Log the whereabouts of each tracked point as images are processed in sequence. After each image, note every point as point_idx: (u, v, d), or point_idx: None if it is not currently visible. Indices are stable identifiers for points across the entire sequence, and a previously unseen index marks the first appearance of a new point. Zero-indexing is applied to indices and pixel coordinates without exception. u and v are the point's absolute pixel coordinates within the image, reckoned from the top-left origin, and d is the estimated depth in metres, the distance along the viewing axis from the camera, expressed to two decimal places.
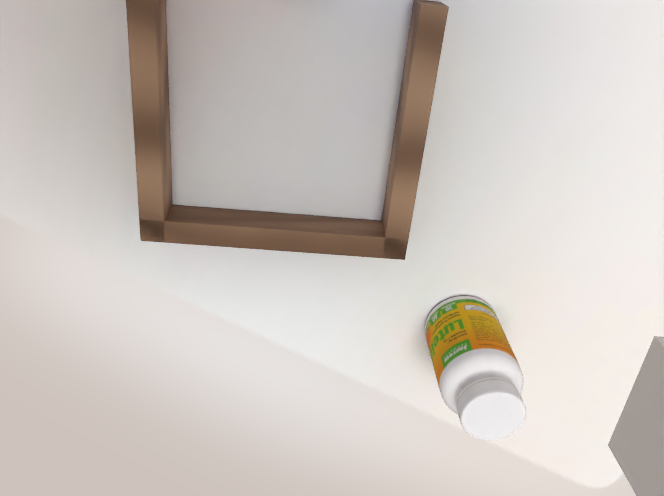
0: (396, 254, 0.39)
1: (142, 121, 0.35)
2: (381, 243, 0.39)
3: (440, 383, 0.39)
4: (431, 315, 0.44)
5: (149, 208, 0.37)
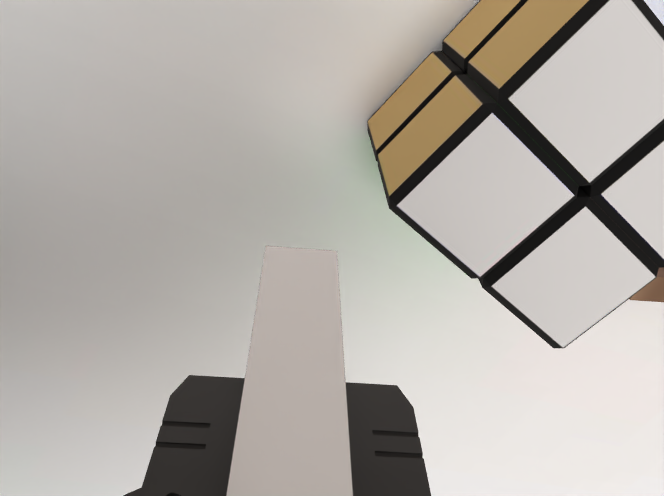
0: None
1: None
2: None
3: None
4: None
5: None
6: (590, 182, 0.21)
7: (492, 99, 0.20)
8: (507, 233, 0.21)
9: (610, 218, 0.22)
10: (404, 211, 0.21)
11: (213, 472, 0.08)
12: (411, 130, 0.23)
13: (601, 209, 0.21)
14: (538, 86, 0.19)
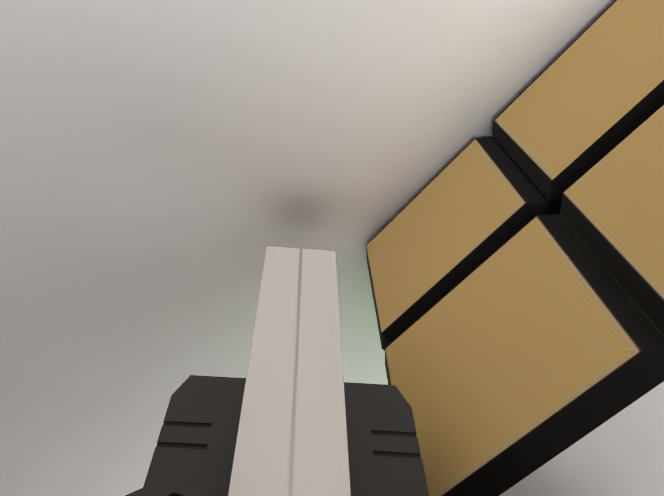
0: None
1: None
2: None
3: None
4: None
5: None
6: None
7: (656, 329, 0.09)
8: None
9: None
10: None
11: (215, 472, 0.08)
12: (451, 323, 0.12)
13: None
14: None
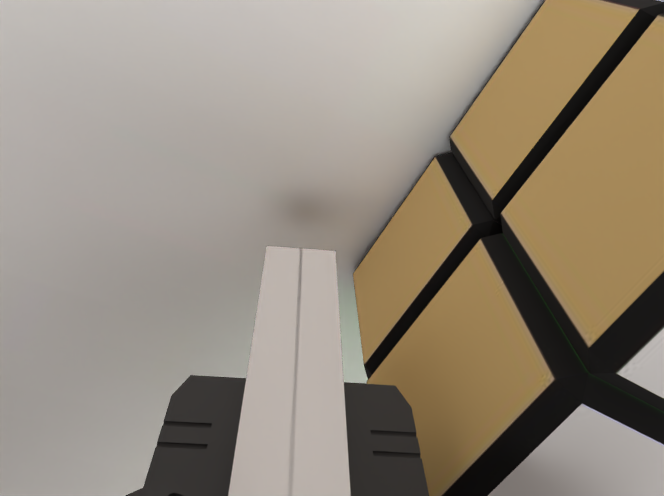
0: None
1: None
2: None
3: None
4: None
5: None
6: None
7: (573, 353, 0.09)
8: None
9: None
10: None
11: (215, 472, 0.08)
12: (415, 353, 0.12)
13: None
14: None
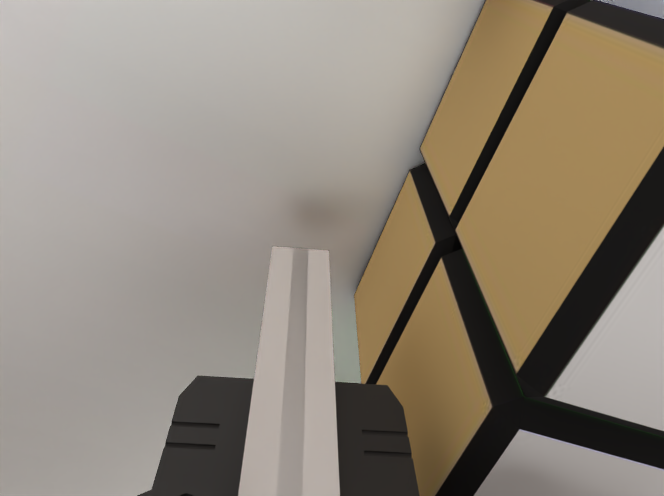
0: None
1: None
2: None
3: None
4: None
5: None
6: None
7: (513, 375, 0.09)
8: None
9: None
10: None
11: (224, 473, 0.08)
12: (396, 379, 0.13)
13: None
14: (608, 355, 0.08)
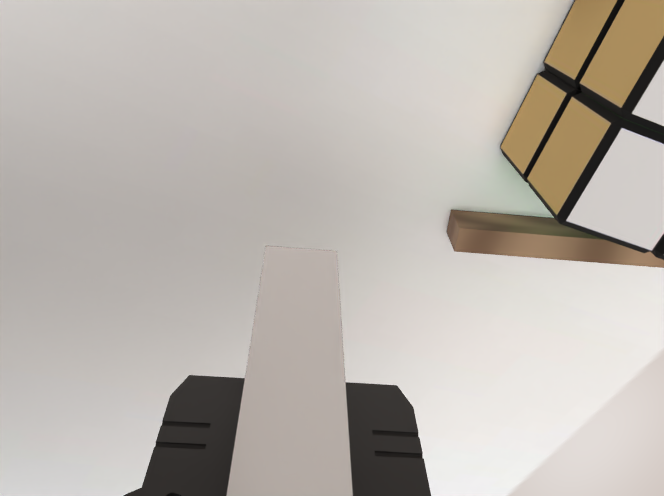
0: None
1: (586, 254, 0.35)
2: None
3: None
4: None
5: None
6: None
7: (617, 115, 0.24)
8: None
9: None
10: (573, 222, 0.26)
11: (213, 472, 0.08)
12: (551, 152, 0.28)
13: None
14: (653, 95, 0.23)
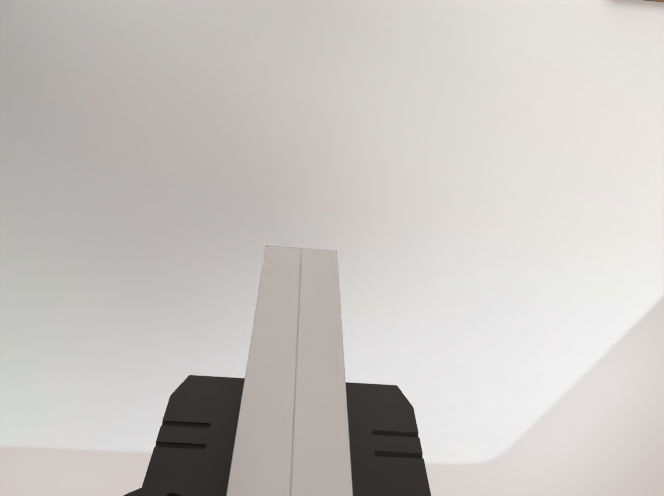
0: None
1: None
2: None
3: None
4: None
5: None
6: None
7: None
8: None
9: None
10: None
11: (214, 472, 0.08)
12: None
13: None
14: None
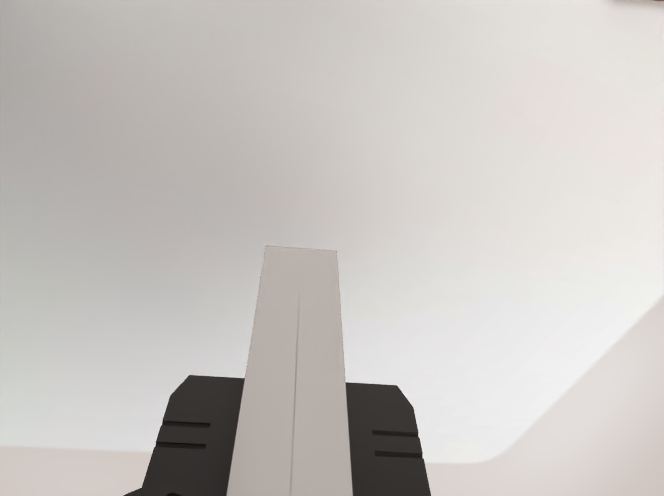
0: None
1: None
2: None
3: None
4: None
5: None
6: None
7: None
8: None
9: None
10: None
11: (213, 472, 0.08)
12: None
13: None
14: None
